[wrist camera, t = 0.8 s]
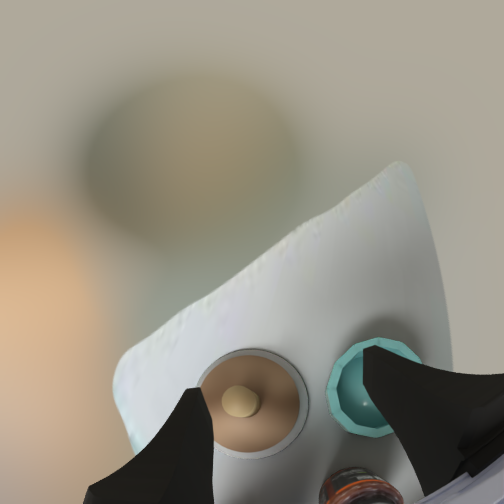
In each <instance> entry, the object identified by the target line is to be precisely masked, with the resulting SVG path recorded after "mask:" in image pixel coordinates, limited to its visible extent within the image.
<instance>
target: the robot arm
mask: <svg viewBox="0 0 504 504" xmlns="http://www.w3.org/2000/svg"><path fill="white" fill-rule="evenodd" d="M363 385H364V387H365V389H366V391H367V393H368V395H369V397H370V399H371V400H372V402H373V403H374V405H375V406H376V407H377V409H378V410H379V412H380V413H381V414H382V416H383V417H384V418H385V420H386V421H387V422H388V424H389V425H390V427H391V428H392V429H393V431H394V432H395V434H396V435H397V437H398V438H399V440H400V442H401V444H402V446H403V448H404V450H405V451H406V453H407V455H408V458H409V460H410V462H411V464H412V466H413V468H414V470H415V473H416V475H417V477H418V480H419V482H420V485H421V487H422V490H423V493H424V496H425V498H423V499H421V500H419V501H417V502H415V503H413V504H504V373H503V374H492V375H475V374H462V373H455V372H449V371H445V370H440V369H436V368H433V367H429V366H426V365H423V364H420V363H417V362H415V361H412V360H410V359H407V358H405V357H402V356H400V355H398V354H395V353H393V352H391V351H389V350H386V349H384V348H382V347H379V346H377V345H373V346H370V347H367V348H364V349H363ZM213 453H214V432H213V421H212V417H211V415H210V412H209V410H208V407H207V404H206V402H205V399H204V396H203V394H202V391H201V388H200V387H197V388H189V389H186V390H185V392H184V393H183V395H182V397H181V398H180V400H179V402H178V403H177V405H176V407H175V408H174V410H173V412H172V413H171V415H170V416H169V418H168V419H167V421H166V422H165V424H164V425H163V426H162V428H161V429H160V430H159V432H158V433H157V434H156V436H155V437H154V438H153V439H152V440H151V441H150V443H149V444H148V445H147V446H146V447H145V448H144V449H143V450H142V451H141V452H140V453H139V454H137V455H136V456H135V457H134V458H133V459H132V460H130V461H129V462H128V463H127V464H125V465H124V466H123V467H121V468H120V469H119V470H117V471H116V472H114V473H112V474H111V475H109V476H108V477H106V478H104V479H102V480H100V481H98V482H96V483H94V484H92V485H90V486H89V487H88V490H87V492H86V495H85V499H84V502H83V504H214V497H213V485H212V476H213Z"/></svg>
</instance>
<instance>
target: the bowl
mask: <svg viewBox="0 0 504 504" xmlns="http://www.w3.org/2000/svg"><path fill="white" fill-rule="evenodd" d="M373 345H377V346H379V347H382V348H384V349H386V350H389V351H391V352H393V353H395V354H398V355H400V356H402V357H405V358H407V359H410V360H412V361H415V362H417V363H420V364H422V363H421V360H419V359H420V358H419V357H418V356H417V355H416V354H415V353H414V352H413V351H412V350H410V349H409V348H408V347H407V346H406V345H405V344H404V343H402V342H400V341H395V340H390V339H386V338H381V337H379V338H378V337H376V338H373V339H370V340H367V341H363V342H360V343H356V344H354V345H353V346H352V347H351V348H350V349H349V350H348V351H347V352H346V353H345V354H344V355H342V356H341V357H340V358H339V359H338V360H337V361H336V362H335V364H334V367H333V369H332V372H331V375H330V379H329V382H328V385H327V388H326V391H325V395H326V400H327V405H328V409H329V414H331V415H330V416H331V417H332V418H333V419H334V420H335V421H336V422H337V423H338V424H339V425H340V426H341V427H342V428H343V429H344V430H345V431H347V432H350V433H354V434H359V435H364V436H369V437H374V438H378V437H381V436H384V435H387V434H390V433H393V432H394V431H393V429H392V428H391V427H390V425H389V424H388V422H387V421H386V420H385V418H384V417H383V416H382V414H381V413H380V412H379V410H378V409H377V407H376V406H375V405H374V403H373V402H372V400H371V399H370V397H369V395H368V393H367V391H366V389H365V387H364V385H363V349H364V348H367V347H370V346H373Z"/></svg>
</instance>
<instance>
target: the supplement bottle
mask: <svg viewBox="0 0 504 504" xmlns="http://www.w3.org/2000/svg"><path fill="white" fill-rule="evenodd" d="M319 504H404V501H403V498H402V496H401V494H400V493H399V492H398V490H397V489H395V488H394V487H393V486H392V485H390V484H389V483H387V482H386V481H384V480H383V479H382V478H380V477H379V476H377V475H376V474H374V473H373V472H371V471H369V470H367V469H365V468H358V467H353V468H347V469H343V470H340V471H338V472H336V473H335V474H333V475H332V476H331V477H329V478H328V479H327V480H326V482H325V483H324V484H323V486H322V488H321V490H320V494H319Z"/></svg>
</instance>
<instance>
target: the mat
mask: <svg viewBox="0 0 504 504" xmlns="http://www.w3.org/2000/svg"><path fill="white" fill-rule="evenodd" d="M244 355H254V356H260V357H264V358H267V359H270V360H272V361H274V362H276V363H277V364H279V365H280V366H281V367H283V368H284V369H285V370H286V371H287V372H288V374H289V375H290V376H291V377H292V379H293V381H294V383H295V385H296V387H297V390H298V394H299V400H300V409H299V415H298V418H297V421H296V423H295V425H294V427H293V429H292V430H291V432H290V433H289V434H288V435H287V436H286V437H285V438H284V439H283V440H282V441H281V442H279V443H278V444H276V445H275V446H273V447H271V448H269V449H266V450H263V451H259V452H251V453H244V452H237V451H233V450H230V449H227V448H225V447H223V446H221V445H220V444H218V443H217V442H215V441H214V448H215V449H217V450H218V451H220V452H222V453H224V454H226V455H229V456H232V457H235V458H240V459H260V458H265V457H268V456H271V455H274V454H276V453H278V452H280V451H281V450H283V449H284V448H286V447H287V446H288V445H289V444H290V443H292V442H293V440H294V439H295V438H296V437H297V436H298V434H299V433H300V431H301V430H302V428H303V425H304V423H305V420H306V417H307V412H308V396H307V391H306V388H305V385H304V383H303V380H302V378H301V377H300V375H299V374H298V372H297V371H296V370H295V369H294V367H292V366H291V365H290V364H289V363H288V362H287V361H285V360H284V359H283V358H281V357H279V356H277V355H275V354H272V353H270V352H266V351H262V350H241V351H236V352H233V353H230V354H227V355H225V356H223V357H221V358H219V359H218V360H217V361H215V362H214V363H213V364H211V365H210V366H209V367H208V368H207V369H206V371H205V372H204V373H203V375H202V376H201V377H200V379H199V381H198V383H197V386H196V388H197V387H201V385H202V383H203V381H204V379H205V378H206V376H207V375H208V374H209V373H210V372H211V370H213V369H214V368H215V367H216V366H217V365H219V364H220V363H222V362H224V361H226V360H228V359H231V358H233V357H238V356H244Z"/></svg>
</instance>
